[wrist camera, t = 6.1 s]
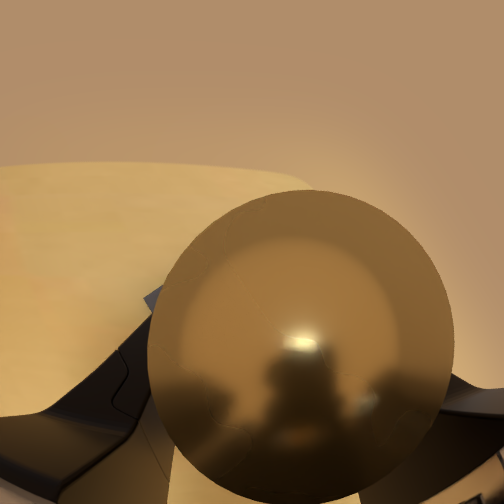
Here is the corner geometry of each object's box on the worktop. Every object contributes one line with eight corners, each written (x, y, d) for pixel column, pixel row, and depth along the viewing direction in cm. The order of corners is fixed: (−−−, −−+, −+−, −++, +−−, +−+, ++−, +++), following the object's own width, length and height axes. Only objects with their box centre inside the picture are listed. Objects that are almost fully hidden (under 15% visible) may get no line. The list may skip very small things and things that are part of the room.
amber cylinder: (285, 364, 15) (473, 406, 3) (213, 389, 14) (226, 542, 2) (260, 295, 16) (390, 168, 4) (188, 318, 15) (107, 241, 3)
